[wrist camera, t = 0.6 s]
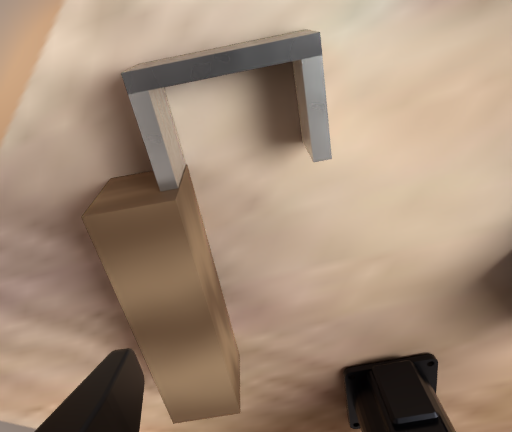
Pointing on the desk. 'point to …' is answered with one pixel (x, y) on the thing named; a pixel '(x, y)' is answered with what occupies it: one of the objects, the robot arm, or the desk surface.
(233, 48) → the bracket
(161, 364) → the rail
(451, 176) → the desk surface
